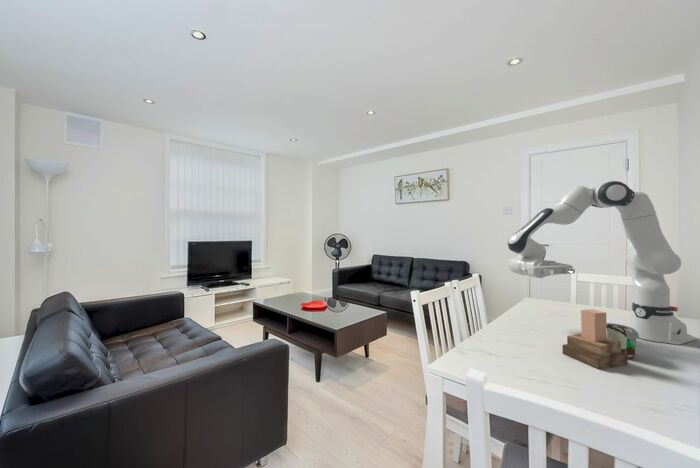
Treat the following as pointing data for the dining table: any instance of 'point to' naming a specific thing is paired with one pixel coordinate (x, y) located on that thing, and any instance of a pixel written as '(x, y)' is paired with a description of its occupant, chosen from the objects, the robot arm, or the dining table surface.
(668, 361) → the dining table surface
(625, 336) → the food container
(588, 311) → the pillar
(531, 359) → the dining table surface
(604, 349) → the tower top
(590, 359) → the tower base
